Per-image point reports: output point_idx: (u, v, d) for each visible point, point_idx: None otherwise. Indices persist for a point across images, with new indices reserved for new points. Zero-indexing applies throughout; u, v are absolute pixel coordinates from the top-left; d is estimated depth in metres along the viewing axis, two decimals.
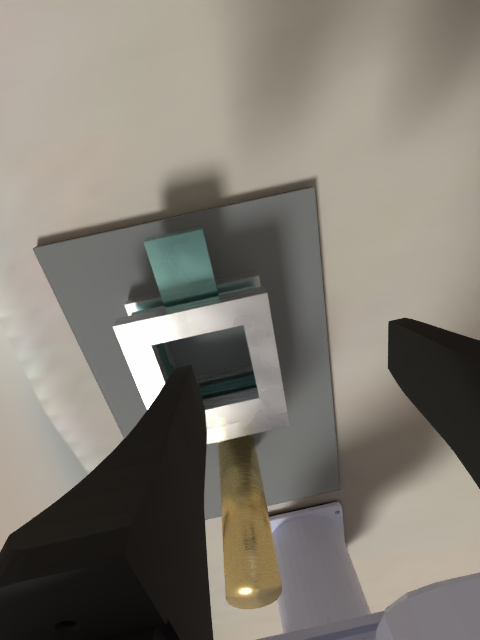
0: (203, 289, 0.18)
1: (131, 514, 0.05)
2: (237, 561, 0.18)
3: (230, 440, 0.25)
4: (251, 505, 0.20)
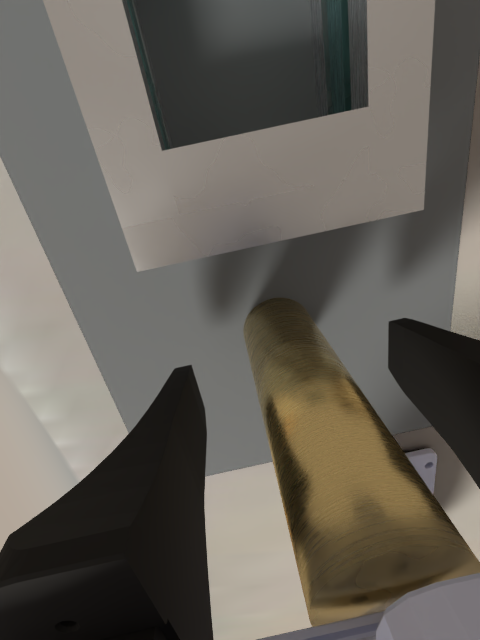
0: None
1: (131, 514, 0.05)
2: (339, 501, 0.06)
3: (269, 306, 0.13)
4: (341, 386, 0.09)
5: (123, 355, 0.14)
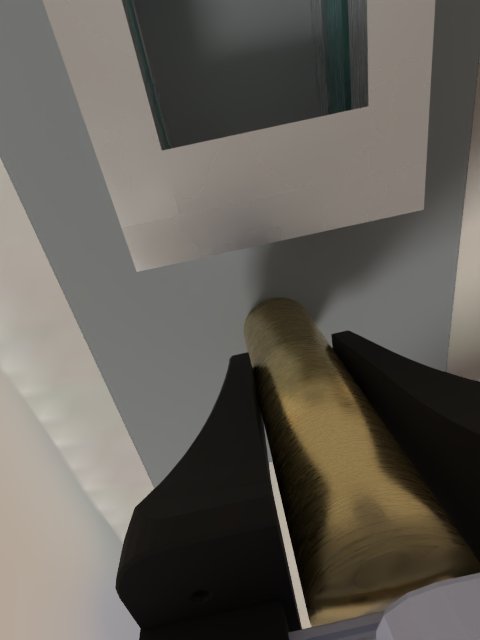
0: None
1: (260, 485, 0.05)
2: (339, 501, 0.06)
3: (268, 306, 0.13)
4: (340, 386, 0.09)
5: (123, 354, 0.14)
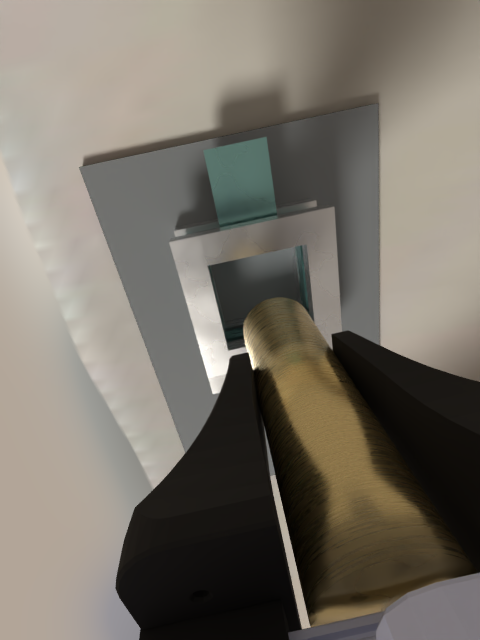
0: (262, 208, 0.17)
1: (260, 485, 0.05)
2: (339, 509, 0.06)
3: (268, 306, 0.13)
4: (340, 391, 0.09)
5: (189, 415, 0.25)
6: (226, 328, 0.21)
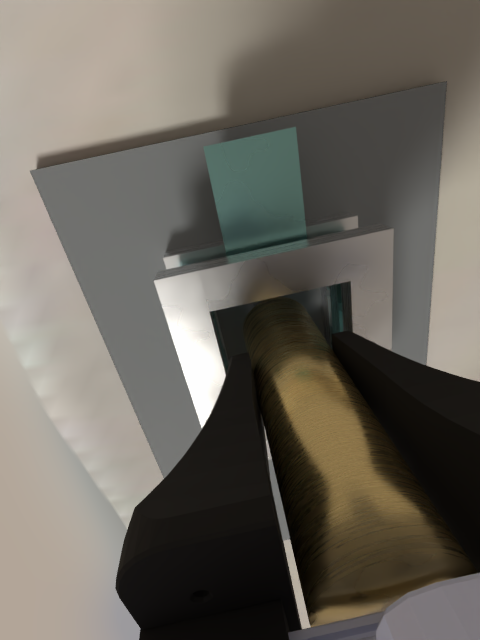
0: (286, 229, 0.12)
1: (260, 485, 0.05)
2: (339, 508, 0.06)
3: (268, 306, 0.13)
4: (340, 390, 0.09)
5: None
6: None
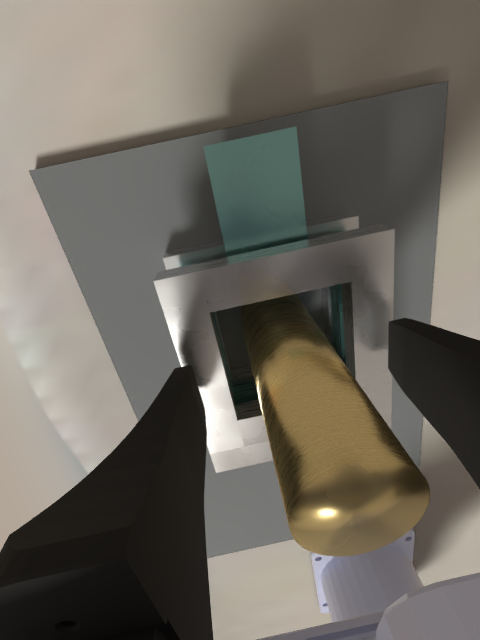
0: (286, 229, 0.12)
1: (131, 514, 0.05)
2: (314, 434, 0.07)
3: None
4: (322, 354, 0.10)
5: None
6: (233, 380, 0.16)
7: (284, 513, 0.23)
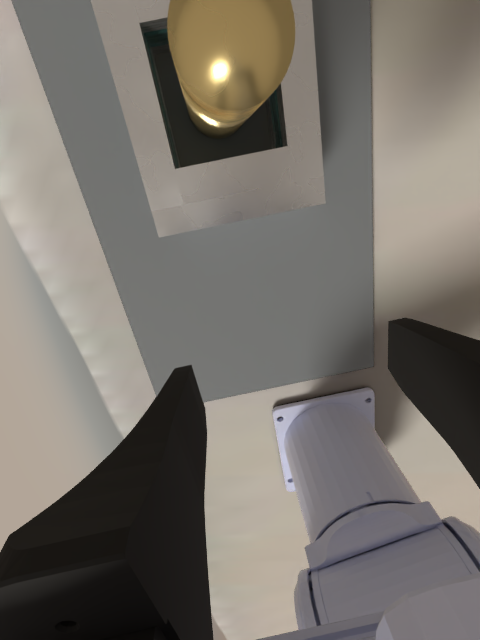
0: None
1: (131, 514, 0.05)
2: None
3: None
4: None
5: (143, 304, 0.21)
6: None
7: (243, 357, 0.23)
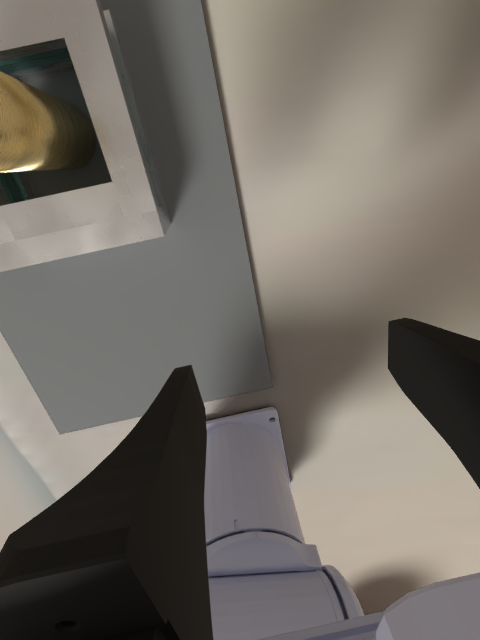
0: None
1: (131, 514, 0.05)
2: None
3: None
4: None
5: (22, 331, 0.21)
6: None
7: (135, 381, 0.23)
